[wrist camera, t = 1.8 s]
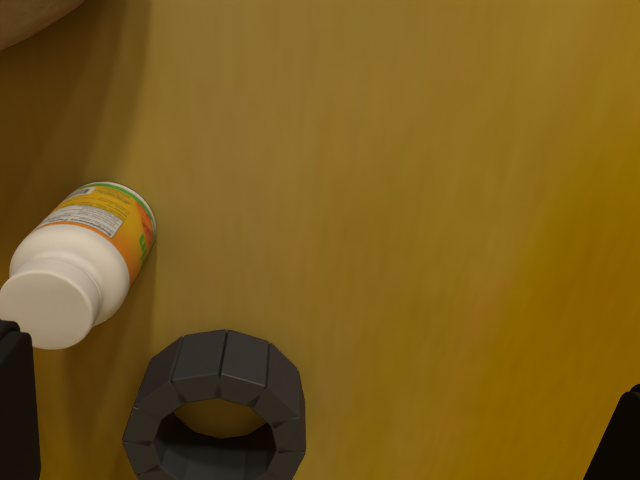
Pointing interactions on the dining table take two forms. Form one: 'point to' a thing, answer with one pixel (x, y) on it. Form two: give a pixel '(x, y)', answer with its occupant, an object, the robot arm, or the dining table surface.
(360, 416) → the dining table surface
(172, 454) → the tape roll
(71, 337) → the supplement bottle
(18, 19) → the bread roll
